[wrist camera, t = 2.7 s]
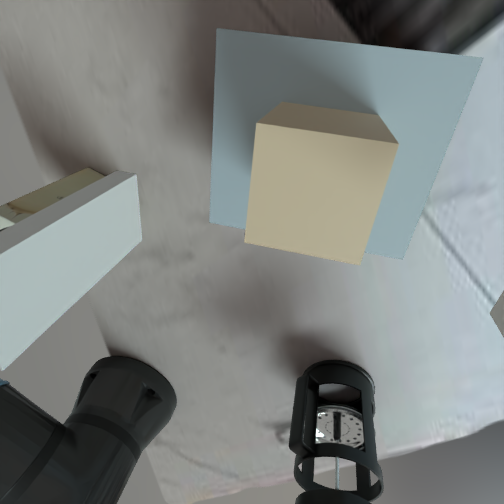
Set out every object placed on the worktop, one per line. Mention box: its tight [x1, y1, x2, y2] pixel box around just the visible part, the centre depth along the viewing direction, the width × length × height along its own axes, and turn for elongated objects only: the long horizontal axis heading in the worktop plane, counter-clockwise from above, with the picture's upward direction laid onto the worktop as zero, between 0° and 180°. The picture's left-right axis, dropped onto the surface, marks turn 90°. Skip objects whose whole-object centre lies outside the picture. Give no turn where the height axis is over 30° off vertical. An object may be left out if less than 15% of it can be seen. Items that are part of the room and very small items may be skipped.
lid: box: [209, 28, 483, 265], centre depth 19 cm, size 15×13×9 cm
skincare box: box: [0, 168, 105, 230], centre depth 32 cm, size 6×4×12 cm
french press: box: [289, 360, 383, 504], centre depth 35 cm, size 12×9×23 cm
